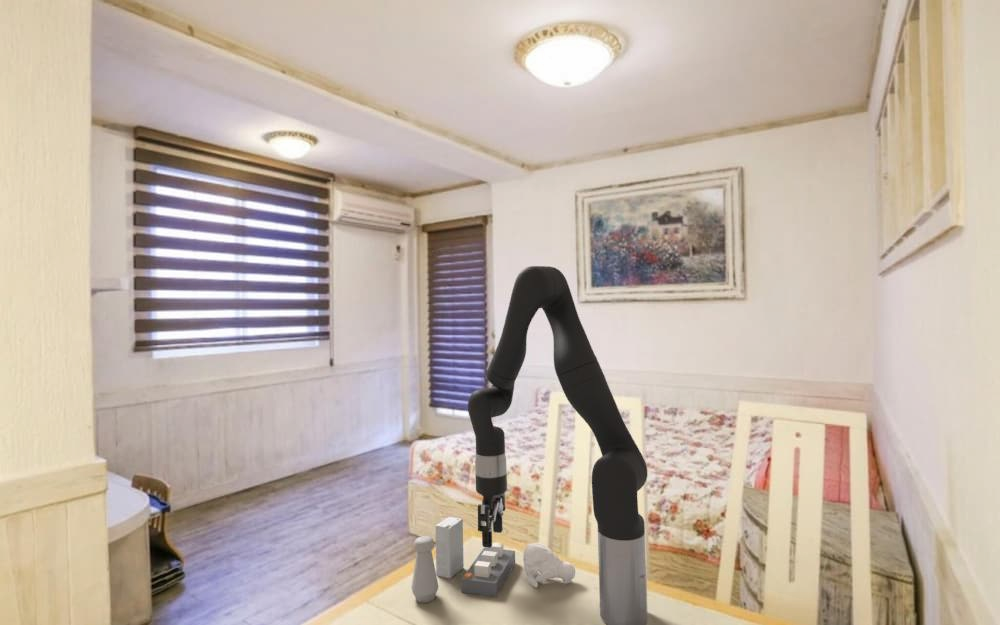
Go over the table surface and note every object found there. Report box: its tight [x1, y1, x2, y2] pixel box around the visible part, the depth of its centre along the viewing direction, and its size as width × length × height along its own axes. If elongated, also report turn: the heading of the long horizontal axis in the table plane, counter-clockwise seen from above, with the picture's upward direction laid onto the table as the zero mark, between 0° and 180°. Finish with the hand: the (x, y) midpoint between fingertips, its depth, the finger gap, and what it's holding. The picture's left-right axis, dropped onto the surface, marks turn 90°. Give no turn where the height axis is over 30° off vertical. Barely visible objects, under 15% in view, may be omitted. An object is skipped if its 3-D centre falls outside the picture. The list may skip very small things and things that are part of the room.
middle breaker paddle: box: [481, 551, 498, 567], centre depth 123 cm, size 3×2×2 cm
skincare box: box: [435, 516, 465, 579], centre depth 126 cm, size 6×4×12 cm
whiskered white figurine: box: [523, 542, 576, 588], centre depth 120 cm, size 6×8×12 cm
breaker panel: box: [461, 541, 516, 598], centre depth 123 cm, size 8×16×5 cm, turn 163°
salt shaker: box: [411, 535, 439, 604], centre depth 114 cm, size 6×6×13 cm
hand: (492, 539), depth 126 cm, fingers open, 8 cm apart
